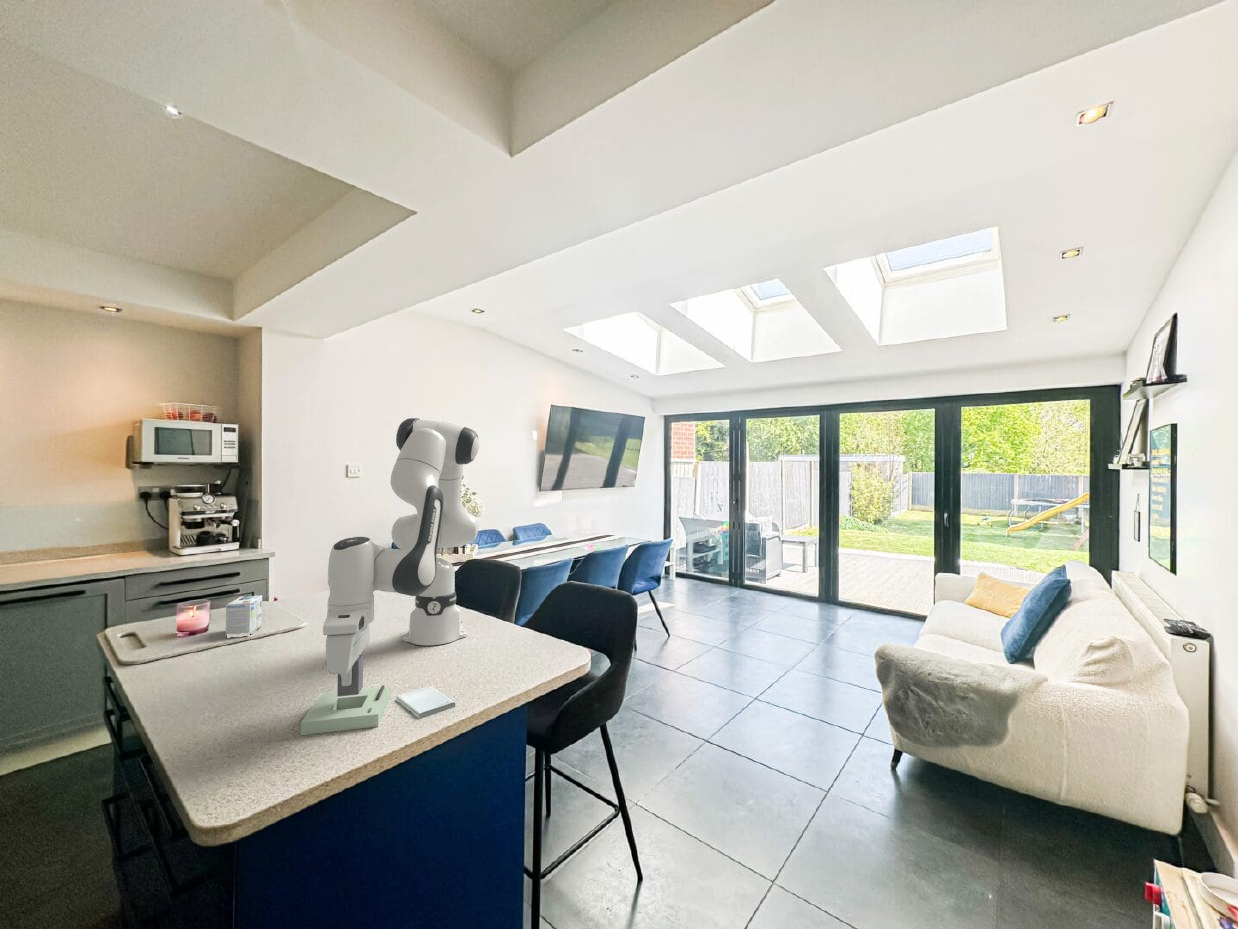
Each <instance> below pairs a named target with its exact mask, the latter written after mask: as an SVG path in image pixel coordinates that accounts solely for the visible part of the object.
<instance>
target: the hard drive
mask: <svg viewBox="0 0 1238 929" xmlns="http://www.w3.org/2000/svg"><path fill="white" fill-rule="evenodd" d="M395 700H396V702H398V703H399V704H400V705H402V706H403V707H404V708H406V710H408V711H409V712H410V711H411V712H412V713H411V712H410V713H411V714H412V715H414V716H415V717H416V718H417V719H419V718H420V719H422V718H423V719H424V718H425V717H429V716H431V715H436V714H437V713H441V712H443V711H446V710H449V709H452V708H455V707H456V701H454V700H452V699H450V698H449V697H448V696H446V695H445V694H444V693H443V692H441V691H439V690H437V689H436V688H435V687H433V686H431V685H428V686H424V687H421V688H418V689H414V690H411V691H408V692H405V693H401V694H398V695H396V698H395Z"/></svg>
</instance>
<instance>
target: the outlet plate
mask: <svg viewBox="0 0 1238 929" xmlns="http://www.w3.org/2000/svg"><path fill="white" fill-rule="evenodd" d="M391 688H392V686H391V685H388V686H385V685H381V686H380V687H379V686H378V687H377V686H376V687H369V688H362V689H361V691H360V693H359V694H358V695H349V696H339V697H337V690H336V691H335V690H334V691H325V692H322V694H321V695H320V696H319V697H318V699H317V700H316V701H315V703H314V704H313V705H312V707H311V708H310V710H309V711H308V712H307V714H306V715H304V718H303V719H302V720H301V721H300V736H305V735H315V734H323V733H331V732H332V733H333V732H341V731H349V730H351V731H352V730H357V729H358V730H359V729H367V728H377V727H379V726H380V723H381V721H382V719H383V716H384V714H385V711H386V709H387V707H388V704H389V702H390V700H391V697H392V696H391V695H392V690H391Z"/></svg>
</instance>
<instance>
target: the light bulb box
mask: <svg viewBox="0 0 1238 929" xmlns="http://www.w3.org/2000/svg"><path fill="white" fill-rule="evenodd" d="M225 606H226V607H225V636H226V635H227V634H241V633H248V632H252V631H253V630H254V629H255V628H256V627H258V626H260V625H261V624H263V620H262V617H263V595H246V596H239V597H237V598H236V599H233V600H232V601H231V602H228V603H227V604H225Z"/></svg>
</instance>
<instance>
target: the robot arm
mask: <svg viewBox="0 0 1238 929" xmlns="http://www.w3.org/2000/svg"><path fill="white" fill-rule="evenodd" d="M395 437H396V439H395V440H396V441H395V442H396V447H397V449H398V450H399V451H400V452H399V453H398V456H397V458H396V460H395V464H394V465H393V468H392V470H391V471H392V472H391V475H390V487H391V488H392V491H393V493H394V494H395V495H396V496H397V498H399V499H400V500H402V501H403V502H405V503H407V504H409V505H411V506H413V507H414V508H415V510H416V513H413V514H408V515H403V516H401V517H399V518H397V519H396V521H395V522H393V524H392V528H391V539H392V541H393V544H394V545H395V546H396V547H398V548H397V549H395V548H386V547H384V546H380V545H377V544H375V543H374V542H373V541H372V539H371V538H370V537H366V536H354V537H347V538H344V539H341V540H339V541H337V542H336V543H334V544H333V546H332V548H331V550H330V552H329V553H330V554H329V556H328V557H329V558H328V565H327V566H328V568H327V585H328V587H329V595H328V598H327V612H326V618H325V621H324V623H323V625H322V635H323V636H326V637H325V638H326V639H325V656H326V658H325V660H326V669H327V672H328V674H329V675H334V676H335V675H338V674H340V675H341V678H342V686H349V685H351V683H352V681H353V674H352V666H353V665H354V663H355V662H356V660H357V659H358V657H359V656H360V655H362V653H363V652H364V650H365V649H366V647H367V646H368V645H369V642H370V636H371V635H370V634H371V631H370V630H371V629H370V628H371V627H370V623H372V622H374V619H375V594H374V592H375V591H380V592H387V593H397V594H401V595H406V596H409V597H414V601H415V602H414V604H415V605H414V606H415V608H414V609H413V611H411V613H410V615H409V625H408V626H409V627H408V630H409V631H408V633H407V634H405V635H404V636H403V638H402V641H403V642H404V643H405V642H406V643H411V644H413V645H418V646H436V645H437V646H438V645H439V646H440V645H444V644H448V643H449V644H450V643H453V642H454V641H457V640H459V639H463V638H466V637H468V632H467V630H466V629H465V626H464V625H463V624H462V623H463V621H462V619H461V617H462V616H461V609H459V608H460V607H458V606H457V605H456V603H457V593H456V590H455V589H456V587H455V584H456V583H455V580H456V579H455V577H456V574H455V572H456V570H455V567H454V565H453V564H452V563H451V562H449V561H447V560H445V559H443V558H440V557H438V556H437V551H438V549H443V548H444V549H445V548H446V549H447V548H459V547H463V546H465V545H469V544H473V543H474V541H475V540H476V538H477V537H478V535H479V524H478V520H477V519H476V516H474V515H473V514H472V513H470V512H469V511H468V510H467V509H466V508H465V506H464V505H463V502H462V497H461V496H462V495H461V492H462V480H463V479H462V478H463V468H464V465H468V464H471V463H472V462H473V461H474V460H475V457H476V456H477V454H478V452H479V448H480V442H479V435H478V433H477V432H476V431H475V430H473V429H472V428H469V427H467V426H460V425H456V424H453V423H451V422H450V423H449V422H445V421H438V420H437V421H436V420H427V419H421V418H417V417H415V418H412V417H411V418H406V419H405V420H403V421H402V422H401V423H400V424H399V426H398V428H397V431H396V436H395Z"/></svg>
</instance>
